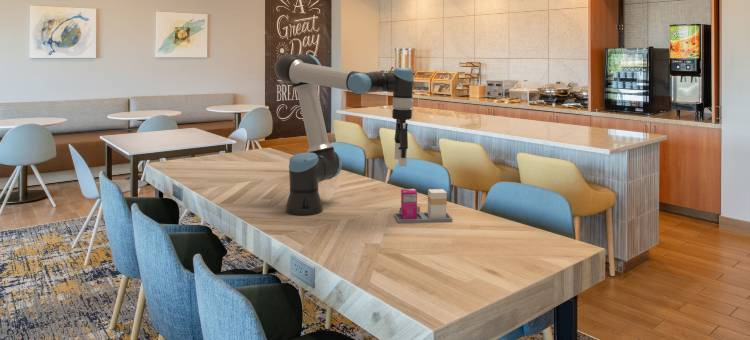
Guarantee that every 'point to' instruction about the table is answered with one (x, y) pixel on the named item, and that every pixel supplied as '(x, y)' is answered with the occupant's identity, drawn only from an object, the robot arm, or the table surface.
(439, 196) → the box
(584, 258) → the table surface
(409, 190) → the supplement box
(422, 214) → the grey divided tray
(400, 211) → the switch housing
